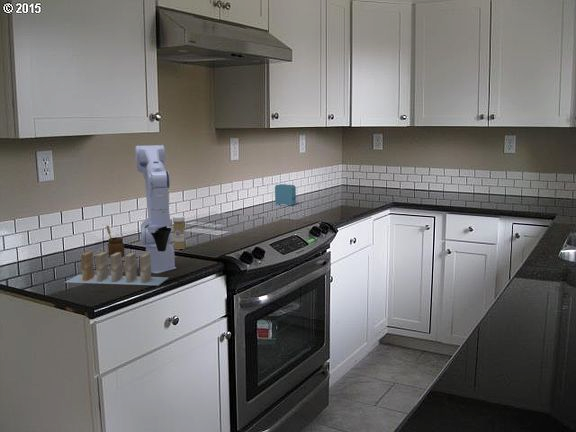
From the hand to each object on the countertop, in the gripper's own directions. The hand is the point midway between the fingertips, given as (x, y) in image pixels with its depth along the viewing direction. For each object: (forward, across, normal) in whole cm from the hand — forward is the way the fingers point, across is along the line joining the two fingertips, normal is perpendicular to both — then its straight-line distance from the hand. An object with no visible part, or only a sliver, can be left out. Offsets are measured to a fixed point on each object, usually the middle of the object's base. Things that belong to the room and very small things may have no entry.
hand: (161, 251), depth 204 cm
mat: (+10, +1, -16) cm, 19 cm away
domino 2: (+10, +1, -21) cm, 23 cm away
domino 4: (+10, 0, -11) cm, 15 cm away
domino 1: (+10, +1, -26) cm, 28 cm away
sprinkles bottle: (+11, -50, -14) cm, 53 cm away
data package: (+11, -181, 0) cm, 181 cm away
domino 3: (+10, +1, -16) cm, 19 cm away
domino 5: (+10, 0, -6) cm, 12 cm away
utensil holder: (+11, -34, -34) cm, 49 cm away
